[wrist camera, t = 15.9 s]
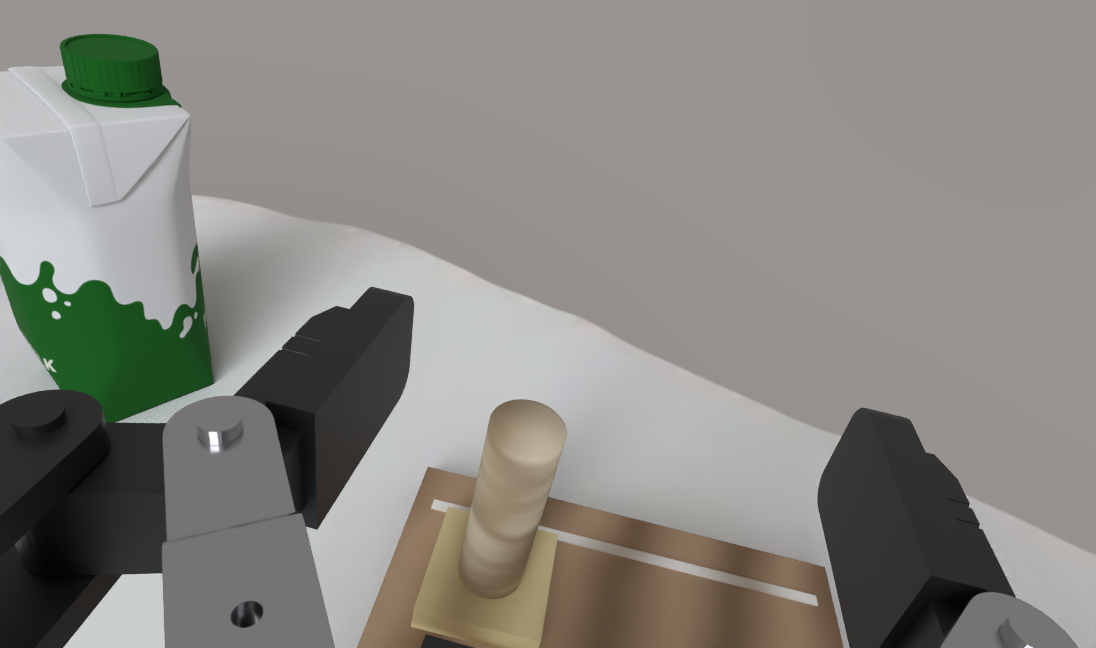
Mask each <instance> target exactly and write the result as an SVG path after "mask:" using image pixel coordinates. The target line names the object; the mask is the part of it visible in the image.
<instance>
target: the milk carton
mask: <svg viewBox="0 0 1096 648" xmlns="http://www.w3.org/2000/svg"><path fill="white" fill-rule="evenodd" d="M60 50H61V55H62V60H63V65H64V66H55V67H34V66H33V67H32V66H29V67H28V66H27V67H12V68H8V71H4V72H0V275H1V278H2V281H3V284H4V287H5V290H6V293H7V296H8V299H9V302H10V305H11V308H12V311H13V314H14V316H15V319H16V322H17V325H18V327H19V329H20V331H21V333H22V334H23V336H24V337H25V339H26V340H27V342H28V343H29V345H30V346H31V347H32V349H33V350H34V352H35V353H36V355H37V356H38V358H39V359H40V361H41V362H42V363H43V365H44V366H45V368H46V369H47V371H48V372H49V374H50V375H51V376H52V378H53V379H54V381H55V382H56V384H57V385H58V386H59V388H60V389H61V390H73V391H79V392H82V393H86V394H88V395H90V396H92V397H94V398H95V399H96V400H97V401H98V402H99V403H100V404H101V407H102V410H103V414H104V418H105V423H114V422H116V421H119V420H121V419H124V418H126V417H129V416H132V415H134V414H137V413H139V412H142V411H145V410H147V409H150V408H152V407H155V406H157V405H160V404H163V403H165V402H168V401H170V400H173V399H175V398H178V397H181V396H183V395H186V394H188V393H191V392H193V391H196V390H199V389H201V388H204V387H206V386H209V385H211V384H213V375H212V367H211V358H210V349H209V340H208V330H207V321H206V313H205V305H204V296H203V288H202V280H201V271H200V263H199V255H198V246H197V238H196V230H195V221H194V213H193V205H192V196H191V188H190V178H189V164H190V140H191V116H190V114H189V113H187V112H186V111H185V110H183V109H182V108H181V105H180V104H179V103H178V102H176V101H175V100H173V99H172V98H171V95H170V92H169V91H168V89H167V88H166V87H164V86H163V85H162V75H161V68H160V62H159V54H158V50H157V48H156V47H155V46H154V45H152V44H150V43H148V42H146V41H143V40H140V39H136V38H132V37H127V36H120V35H110V34H87V35H79V36H74V37H70V38H67V39H65V40H63V41H62V42H61V44H60Z"/></svg>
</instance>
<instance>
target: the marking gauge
mask: <svg viewBox="0 0 1096 648" xmlns="http://www.w3.org/2000/svg"><path fill="white" fill-rule="evenodd" d="M566 435H567V431H566V426H565V424H564V422H563V420H562V418H561V417H560V416H559V415H558V414H557V413H556V412H555V411H554V410H553V409H551V408H549V407H548V406H546V405H544V404H542V403H539V402H536V401H531V400H521V399H520V400H512V401H508V402H505V403H503V404H501V405H499V406H498V407H497V408H496V409H495V410H494V411H493V412H492V414H491V416H490V420H489V425H488V430H487V434H486V439H485V444H484V449H483V453H482V458H481V463H480V467H479V472H478V477H477V482H476V486H475V491H474V496H473V500H472V505H471V510H470V512H468V511H464V510H460V509H456V508H452V507H448V509H447V512H446V515H445V518H444V521H443V524H442V527H441V530H440V532H439V535H438V538H437V541H436V544H435V547H434V550H433V553H432V556H431V559H430V562H429V565H428V568H427V571H426V574H425V577H424V580H423V583H422V586H421V589H420V592H419V595H418V598H417V601H416V603H415V606H414V609H413V616H412V622H411V627H414V628H418V629H422V630H426V631H430V632H433V633H437V634H441V635H445V636H449V637H453V638H457V639H461V640H465V641H469V642H473V643H477V644H481V645H485V646H488V647H492V648H539V645H540V643H541V637H542V631H543V625H544V619H545V612H546V606H547V600H548V594H549V587H550V581H551V575H552V569H553V562H554V556H555V550H556V544H557V537H558V534H554V533H550V532H546V531H542V530H539V529H538V526H539V523H540V520H541V517H542V514H543V510H544V507H545V504H546V501H547V497H548V494H549V491H550V488H551V485H552V481H553V478H554V475H555V472H556V469H557V465H558V462H559V459H560V456H561V453H562V449H563V446H564V443H565V440H566Z"/></svg>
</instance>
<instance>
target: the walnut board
mask: <svg viewBox="0 0 1096 648" xmlns="http://www.w3.org/2000/svg"><path fill="white" fill-rule="evenodd" d="M476 482H477V479H474V478H470V477H466V476H462V475H458V474H454V473H450V472H446V471H442V470H438V469H435V468H431V467H428V468H427V471H426V473H425V476H424V479H423V481H422V484H421V486H420V489H419V491H418V494H417V496H416V499H415V502H414V504H413V507H412V509H411V512H410V514H409V517H408V519H407V522H406V525H405V527H404V530H403V532H402V535H401V537H400V540H399V542H398V545H397V547H396V550H395V553H394V555H393V558H392V560H391V563H390V565H389V568H388V570H387V573H386V576H385V578H384V581H383V583H382V586H381V588H380V591H379V593H378V596H377V599H376V601H375V604H374V606H373V609H372V611H371V614H370V616H369V619H368V622H367V624H366V627H365V629H364V632H363V634H362V637H361V639H360V642H359V645H358V647H357V648H421V645H422V642H423V640H424V637H425V634H427V635H431V636H434V637H438V638H442V639H445V640H449V641H452V642H456V643H459V644H463V645H467V646H470V647H474V648H492V647H488V646H485V645H481V644H477V643H473V642H469V641H465V640H461V639H457V638H453V637H449V636H445V635H441V634H437V633H433V632H430V631H426V630H422V629H418V628H414V627H411V622H412V616H413V609H414V606H415V603H416V601H417V598H418V595H419V592H420V589H421V586H422V583H423V580H424V577H425V574H426V571H427V568H428V565H429V562H430V559H431V556H432V553H433V550H434V547H435V544H436V541H437V538H438V535H439V532H440V530H441V527H442V524H443V521H444V518H445V515H446V512H447V509H448V507H452V508H456V509H460V510H464V511H468V512H470V510H471V505H472V500H473V496H474V491H475V486H476ZM538 529H539V530H542V531H546V532H550V533H554V534H558V537H557V544H556V550H555V556H554V562H553V569H552V575H551V581H550V587H549V594H548V600H547V606H546V612H545V619H544V625H543V631H542V637H541V643H540V645H539V648H843V644H842V640H841V636H840V631H839V627H838V623H837V618H836V614H835V609H834V605H833V601H832V596H831V592H830V588H829V583H828V579H827V574H826V570H825V567H822V566H818V565H814V564H810V563H806V562H802V561H798V560H794V559H790V558H786V557H782V556H778V555H774V554H770V553H766V552H763V551H759V550H755V549H751V548H747V547H743V546H739V545H735V544H731V543H727V542H723V541H719V540H715V539H711V538H707V537H703V536H699V535H695V534H691V533H687V532H683V531H680V530H676V529H672V528H668V527H664V526H660V525H656V524H652V523H648V522H644V521H640V520H636V519H632V518H628V517H624V516H620V515H616V514H612V513H608V512H604V511H601V510H597V509H593V508H589V507H585V506H581V505H577V504H573V503H569V502H565V501H561V500H557V499H553V498H549V497H547V501H546V504H545V507H544V510H543V514H542V517H541V520H540V523H539V526H538Z"/></svg>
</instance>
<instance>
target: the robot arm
mask: <svg viewBox="0 0 1096 648" xmlns="http://www.w3.org/2000/svg"><path fill="white" fill-rule="evenodd" d="M413 314H414V302H413V298H412V297H411V296H408V295H404V294H400V293H396V292H392V291H388V290H383V289H379V288H375V287H370V288H369V289H368V290H367V291H366V292H365V293H364V294H363V295H362V296H361V297H360V298H359V299H358V300H357V302H356V303H355V304H354V305H353V306H352V307H351V308H350V309H347V308H343V307H339V306H335V307H333V308H331V309H329V310H327V311H324V312H322V313H320V314H318V315H315V316H313V317H311V318H310V319H309V320H308V321H307V322H306V323H305V324H304V325H303V326H302V327H301V328H300V329H299V330H298V331H297V332H296V335H295V337H293V336H292V337H291V338H290V339H289V340H288V341H287V342H286V343H285V344H284V345H283V346H282V350H278V351H277V352H276V353H275V354H274V355H273V356H272V357H271V358H270V359H269V360H268V361H267V362H266V363H265V364H264V365H263V366H262V367H261V368H260V369H259V370H258V371H257V372H256V373H255V374H254V375H253V376H252V377H251V378H250V379H249V380H248V381H247V382H246V384H245V385H244V386H243V387H242V388H241V389H240V390H239V391H238V392H237V393H236V394H235V395H234V396H218V397H212V398H207V399H203V400H200V401H197V402H195V403H192V404H190V405H188V406H186V407H184V408H182V409H181V410H179V411H178V412H177V413H175V414H174V415H173V416H172V417H171V418H170V419H169V421H168V422H167V423H105V418H104V414H103V410H102V407H101V404H100V403H99V402H98V401H97V400H96V399H95V398H94V397H92V396H90V395H88V394H86V393H82V392H79V391H73V390H46V391H39V392H34V393H30V394H26V395H23V396H19V397H16V398H14V399H11V400H9V401H6V402H5V403H3V404H1V405H0V648H63V647H64V646H65V645H66V643H67V642H68V641H69V640H70V638H71V637H72V636H73V635H74V633H75V632H76V631H77V630H78V628H79V627H80V626H81V625H82V624H83V622H84V621H85V620H86V619H87V617H88V616H89V615H90V614H91V612H92V611H93V610H94V609H95V607H96V606H97V605H98V604H99V602H100V601H101V600H102V599H103V597H104V596H105V595H106V594H107V593H108V591H109V590H110V589H111V588H112V586H113V585H114V584H115V583H116V581H117V580H118V579H119V578H120V576H121V575H122V574H151V573H163V601H164V630H165V648H335V646H334V642H333V637H332V633H331V629H330V625H329V621H328V617H327V613H326V609H325V604H324V600H323V596H322V592H321V588H320V584H319V580H318V575H317V571H316V567H315V563H314V559H313V555H312V551H311V546H310V542H309V538H308V534H307V530H306V527H310V528H313V529H318V528H319V526H320V524H321V523H322V521H323V520H324V518H325V516H326V515H327V513H328V512H329V510H330V509H331V507H332V505H333V504H334V502H335V501H336V499H337V497H338V496H339V494H340V493H341V491H342V490H343V488H344V486H345V485H346V483H347V482H348V480H349V478H350V477H351V475H352V474H353V472H354V470H355V469H356V467H357V466H358V464H359V463H360V461H361V459H362V458H363V456H364V455H365V453H366V451H367V450H368V448H369V447H370V445H371V444H372V442H373V440H374V439H375V437H376V436H377V434H378V432H379V431H380V429H381V428H382V426H383V424H384V423H385V421H386V420H387V418H388V417H389V415H390V413H391V412H392V410H393V409H394V407H395V405H396V404H397V402H398V401H399V399H400V397H401V395H402V393H403V390H404V388H405V385H406V382H407V378H408V373H409V367H410V355H411V341H412V327H413ZM969 504H970V503H969V501H968V499H967V497H966V495H965V493H964V491H963V489H962V487H961V485H960V483H959V481H958V479H957V478H956V477H955V476H954V475H953V474H952V473H951V472H950V471H949V470H948V469H947V467H945V465H944V464H943V463H942V462H941V461H940V460H939V459H938V458H937V457H936V456H935V455H934V454H929V453H926V452H925V450H924V448H923V446H922V444H921V442H920V440H919V438H918V435H917V433H916V431H915V429H914V426H913V424H912V423H911V421H910V420H909V419H907V418H904V417H900V416H896V415H892V414H888V413H884V412H880V411H876V410H871V409H867V408H860V409H859V410H857V411H856V412H855V413H854V415H853V416H852V418H851V420H850V422H849V424H848V426H847V428H846V430H845V431H844V433H843V435H842V437H841V439H840V441H839V443H838V445H837V447H836V449H835V450H834V452H833V454H832V456H831V458H830V460H829V462H828V464H827V466H826V468H825V470H824V472H823V474H822V477H821V480H820V484H819V489H818V509H819V513H820V518H821V522H822V526H823V531H824V535H825V540H826V544H827V549H828V553H829V558H830V562H831V566H832V571H833V575H834V580H835V584H836V589H837V593H838V598H839V602H840V606H841V611H842V615H843V620H844V624H845V629H846V633H847V638H848V642H849V646H850V648H1078V647H1077V645H1076V644H1075V642H1074V641H1073V640H1072V639H1071V638H1070V636H1069V635H1068V634H1067V633H1066V632H1065V631H1064V630H1063V629H1062V628H1061V627H1060V626H1059V625H1058V624H1057V623H1055V622H1054V621H1053V620H1052V619H1051V618H1049V617H1048V616H1047V615H1045V614H1044V613H1043V612H1041V611H1040V610H1038V609H1036V608H1035V607H1033V606H1032V605H1030V604H1028V603H1026V602H1024V601H1022V600H1020V599H1017V598H1016V597H1015V595H1014V592H1013V590H1012V588H1011V586H1010V584H1009V582H1008V580H1007V578H1006V576H1005V574H1004V572H1003V570H1002V568H1001V566H1000V564H999V562H998V560H997V558H996V556H995V554H994V552H993V550H992V548H991V546H990V544H989V542H988V540H987V538H986V536H985V534H984V532H983V530H982V529H979V525H980V524H979V522H978V520H977V518H976V516H975V514H974V512H973V510H972V509H971V508H969ZM421 648H474V647H470V646H467V645H463V644H459V643H456V642H452V641H449V640H445V639H442V638H438V637H434V636H431V635H427V634H425V637H424V640H423V642H422V645H421Z"/></svg>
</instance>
